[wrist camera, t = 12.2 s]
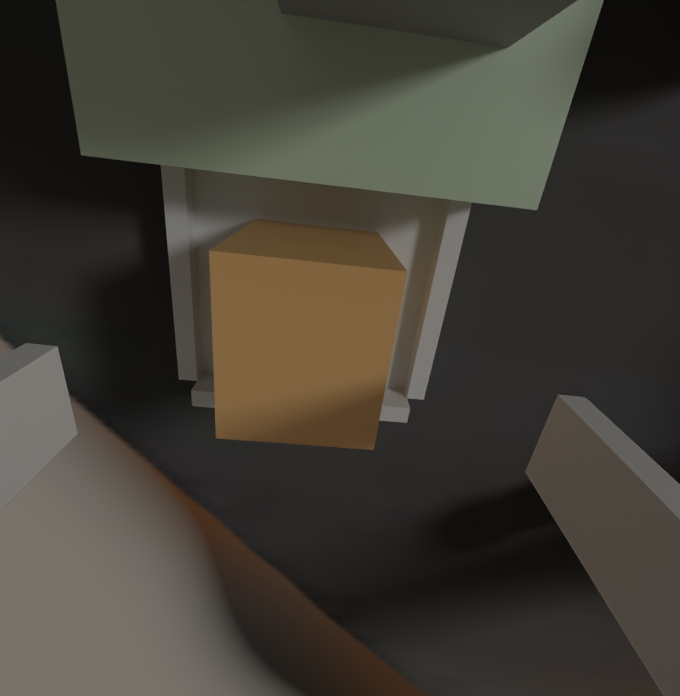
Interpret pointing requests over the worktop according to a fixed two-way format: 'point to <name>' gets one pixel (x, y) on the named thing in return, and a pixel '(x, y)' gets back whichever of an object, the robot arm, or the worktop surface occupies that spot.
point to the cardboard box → (303, 333)
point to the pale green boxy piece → (327, 130)
